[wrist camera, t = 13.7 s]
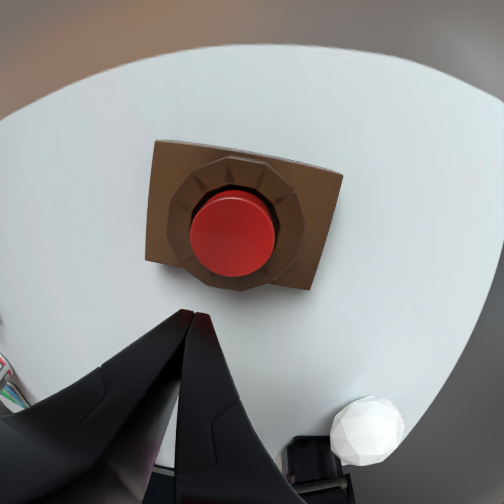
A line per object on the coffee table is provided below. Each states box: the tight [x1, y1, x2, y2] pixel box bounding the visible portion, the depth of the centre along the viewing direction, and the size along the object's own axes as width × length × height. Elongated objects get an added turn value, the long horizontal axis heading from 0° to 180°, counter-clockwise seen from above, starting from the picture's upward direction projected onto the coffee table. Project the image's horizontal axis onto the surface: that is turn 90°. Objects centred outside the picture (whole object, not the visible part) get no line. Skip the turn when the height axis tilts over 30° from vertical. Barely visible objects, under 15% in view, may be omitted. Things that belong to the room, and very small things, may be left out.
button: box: [190, 190, 275, 277], centre depth 12 cm, size 4×4×2 cm
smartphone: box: [0, 382, 30, 409], centre depth 29 cm, size 7×1×15 cm
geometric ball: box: [330, 396, 405, 466], centre depth 21 cm, size 8×8×8 cm
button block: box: [145, 140, 343, 291], centre depth 14 cm, size 10×7×4 cm
